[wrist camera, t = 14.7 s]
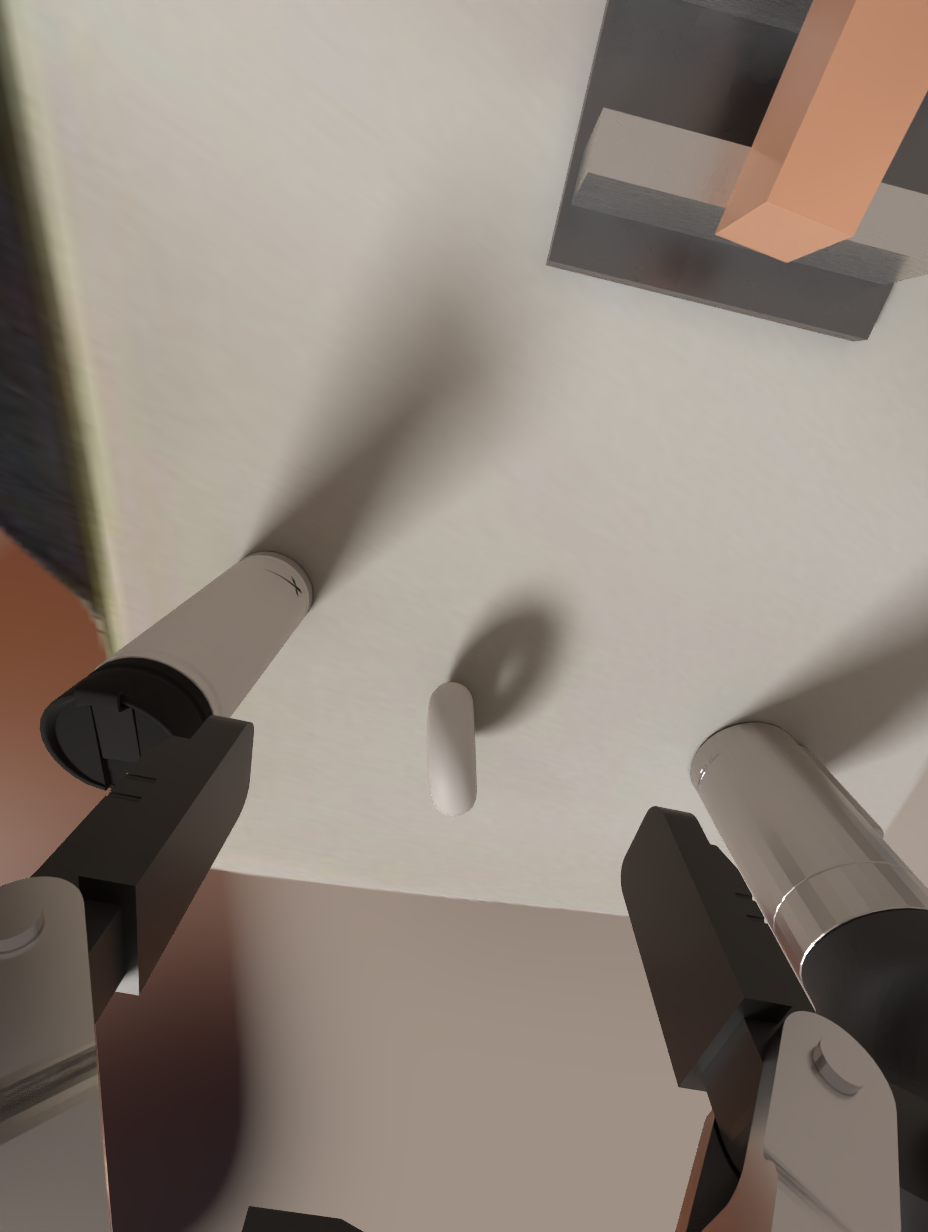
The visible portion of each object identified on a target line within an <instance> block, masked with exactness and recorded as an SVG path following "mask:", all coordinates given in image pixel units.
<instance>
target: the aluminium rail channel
mask: <svg viewBox="0 0 928 1232" xmlns="http://www.w3.org/2000/svg"><path fill="white" fill-rule="evenodd" d="M812 2H813V0H607V3H606V8H605V12H604V16H603V21H602V25H601V29H600V34H599V38H598V42H597V47H596V51H595V55H594V60H593V64H592V68H591V73H590V77H589V81H588V86H587V90H586V94H585V99H584V103H583V107H582V112H581V116H580V121H579V125H578V129H577V134H576V138H575V142H574V147H573V151H572V155H571V160H570V164H569V168H568V173H567V177H566V181H565V186H564V190H563V194H562V199H561V203H560V207H559V212H558V216H557V220H556V225H555V229H554V233H553V238H552V242H551V246H550V251H549V255H548V259H547V264H546V265H548V266H552V267H556V268H560V269H564V270H568V271H572V272H576V273H581V274H585V275H589V276H593V277H597V278H601V279H605V280H609V281H613V282H617V283H621V284H625V285H629V286H633V287H637V288H641V289H645V290H649V291H653V292H657V293H661V294H665V295H669V296H673V297H677V298H681V299H686V300H690V301H694V302H698V303H702V304H706V305H710V306H714V307H718V308H722V309H726V310H730V311H734V312H738V313H742V314H746V315H750V316H754V317H758V318H762V319H766V320H770V321H774V322H778V323H782V324H787V325H791V326H795V327H799V328H803V329H807V330H811V331H815V332H819V333H823V334H827V335H831V336H835V337H839V338H843V339H847V340H851V341H861V340H867V339H868V337H869V335H870V333H871V331H872V329H873V327H874V324H875V322H876V320H877V318H878V316H879V314H880V312H881V309H882V307H883V305H884V303H885V301H886V299H887V297H888V294H889V292H890V290H891V288H892V286H893V284H894V282H897V281H901V280H905V279H909V278H913V277H917V276H921V275H925V274H928V91H927V93H926V95H925V97H924V99H923V101H922V103H921V105H920V107H919V109H918V111H917V113H916V115H915V116H914V118H913V120H912V122H911V124H910V126H909V128H908V130H907V132H906V134H905V136H904V138H903V140H902V142H901V144H900V146H899V148H898V150H897V152H896V154H895V156H894V158H893V160H892V161H891V163H890V165H889V167H888V169H887V171H886V173H885V175H884V177H883V179H882V181H881V183H880V185H879V187H878V189H877V191H876V193H875V195H874V197H873V199H872V201H871V203H870V205H869V207H868V208H867V210H866V212H865V214H864V216H863V218H862V220H861V222H860V224H859V226H858V228H857V230H856V232H855V234H854V236H853V237H850V238H848V239H845V240H843V241H840V242H838V243H835V244H833V245H830V246H828V247H825V248H823V249H820V250H818V251H815V252H813V253H810V254H808V255H805V256H803V257H800V258H798V259H795V260H793V261H790V262H788V263H786V262H783V261H781V260H778V259H776V258H773V257H771V256H768V255H766V254H763V253H761V252H758V251H755V250H753V249H750V248H748V247H745V246H743V245H740V244H738V243H735V242H733V241H730V240H728V239H725V238H722V237H720V236H717V235H715V233H716V230H717V228H718V225H719V223H720V221H721V218H722V216H723V214H724V211H725V209H726V206H727V204H728V202H729V199H730V197H731V195H732V192H733V190H734V187H735V185H736V183H737V180H738V178H739V176H740V173H741V171H742V168H743V166H744V164H745V161H746V159H747V156H748V154H749V152H750V149H751V147H752V145H753V142H754V140H755V137H756V135H757V133H758V130H759V128H760V126H761V123H762V121H763V118H764V116H765V114H766V111H767V109H768V107H769V104H770V102H771V99H772V97H773V95H774V92H775V90H776V88H777V85H778V83H779V80H780V78H781V76H782V73H783V71H784V68H785V66H786V64H787V61H788V59H789V57H790V54H791V52H792V49H793V47H794V45H795V42H796V40H797V38H798V35H799V33H800V30H801V28H802V26H803V23H804V21H805V19H806V16H807V14H808V11H809V9H810V7H811V4H812Z"/></svg>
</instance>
